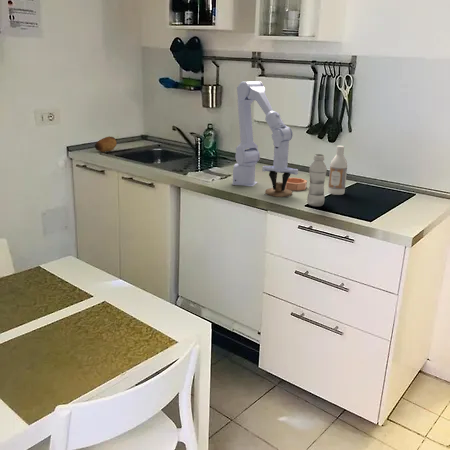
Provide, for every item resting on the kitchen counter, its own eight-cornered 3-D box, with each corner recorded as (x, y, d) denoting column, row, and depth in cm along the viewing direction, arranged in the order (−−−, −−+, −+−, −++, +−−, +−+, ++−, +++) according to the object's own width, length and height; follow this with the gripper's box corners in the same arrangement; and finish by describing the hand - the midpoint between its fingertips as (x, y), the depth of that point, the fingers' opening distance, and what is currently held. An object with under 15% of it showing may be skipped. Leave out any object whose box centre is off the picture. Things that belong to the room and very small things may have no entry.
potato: (100, 159, 288) (90, 149, 289) (118, 150, 296) (109, 141, 298) (103, 149, 282) (93, 140, 284) (121, 140, 291) (111, 131, 292)
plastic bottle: (323, 209, 201) (328, 157, 194) (305, 207, 202) (309, 156, 195) (324, 204, 207) (328, 153, 200) (306, 202, 208) (310, 152, 201)
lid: (262, 195, 215) (262, 184, 213) (269, 188, 225) (269, 178, 223) (288, 198, 212) (289, 187, 210) (294, 191, 221) (295, 181, 220)
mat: (263, 196, 215) (263, 194, 215) (269, 190, 224) (270, 188, 224) (287, 198, 212) (287, 197, 212) (293, 192, 221) (293, 191, 221)
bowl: (280, 189, 225) (280, 182, 224) (285, 184, 234) (286, 176, 233) (303, 192, 222) (304, 184, 221) (307, 186, 231) (308, 179, 230)
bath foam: (325, 193, 221) (329, 146, 214) (330, 190, 227) (335, 143, 220) (341, 196, 218) (346, 148, 211) (346, 192, 224) (351, 145, 217)
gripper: (260, 157, 212) (259, 190, 216) (296, 160, 207) (294, 194, 212) (265, 154, 218) (263, 186, 223) (300, 157, 214) (297, 189, 218)
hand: (278, 189), depth 218 cm, fingers closed on lid, 3 cm apart
